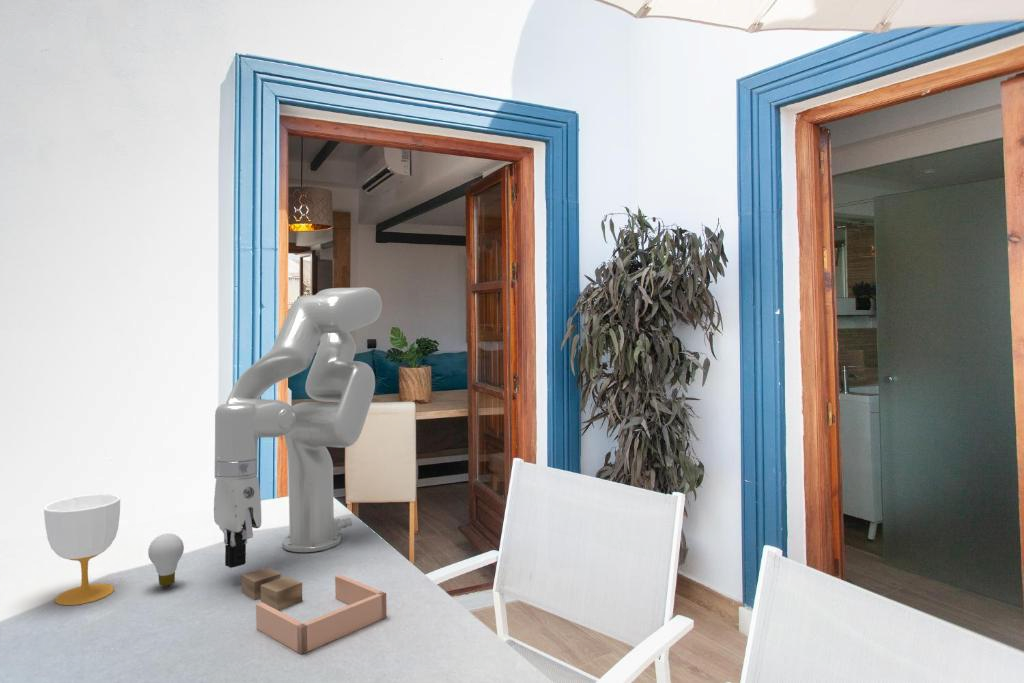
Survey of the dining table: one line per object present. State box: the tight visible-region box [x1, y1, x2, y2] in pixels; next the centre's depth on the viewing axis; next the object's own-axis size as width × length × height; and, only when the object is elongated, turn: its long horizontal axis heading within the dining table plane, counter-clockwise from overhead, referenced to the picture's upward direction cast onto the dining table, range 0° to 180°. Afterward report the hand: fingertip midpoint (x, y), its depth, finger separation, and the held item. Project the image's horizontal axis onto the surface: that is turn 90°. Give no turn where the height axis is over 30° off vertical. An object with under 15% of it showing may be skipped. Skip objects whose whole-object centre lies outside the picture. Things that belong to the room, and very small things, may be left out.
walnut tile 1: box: [240, 566, 282, 601], centre depth 120 cm, size 5×5×4 cm
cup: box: [43, 493, 121, 606], centre depth 119 cm, size 12×12×17 cm
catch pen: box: [255, 574, 388, 655], centre depth 107 cm, size 16×13×4 cm
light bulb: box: [147, 533, 185, 589], centre depth 122 cm, size 6×6×10 cm
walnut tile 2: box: [260, 576, 303, 611], centre depth 115 cm, size 5×5×4 cm
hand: (235, 565), depth 124 cm, fingers closed
